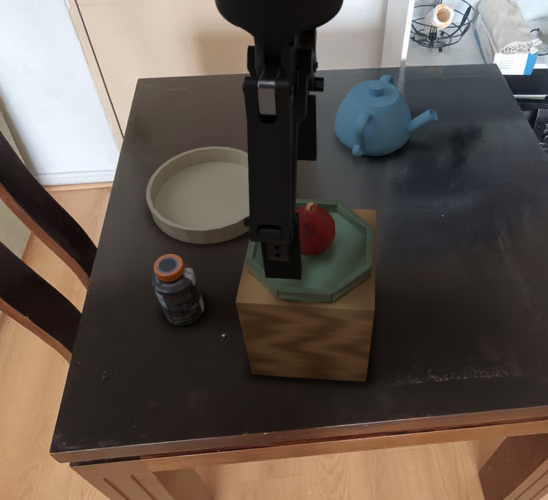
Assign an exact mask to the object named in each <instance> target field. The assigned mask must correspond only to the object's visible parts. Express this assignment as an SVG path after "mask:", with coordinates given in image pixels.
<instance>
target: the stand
mask: <svg viewBox="0 0 548 500" xmlns="http://www.w3.org/2000/svg"><path fill="white" fill-rule="evenodd" d="M310 202H314V203H316V204H317V206H320V207H322V208H324V209H325V210H327V211H328V212H329V214H330V215H331V216H332V217H333V219H334V221H335V231H336V234H335V238H334V240H333V242H332V245H330V246H329V247H328V248H327V249H326V250H325V251H324V252H322V253H320V254H318V255H312V256H306V255H303V254H301V261H302V277H301V280H295V279H277V278H265V271H264V264H263V257H262V250H261V243H260V242H251V240H250V238H249V239H248V244H247V248H246V253H245V258H244V262H243V267H242V272H241V274H240V275H241V277H240V281H239V285H238V290H237V293H236V299H235V306H236V310H237V314H238V318H239V323H240V327H241V331H242V336H243V341H244V344H245V345H244V346H245V349H246V353H247V357H248V358H247V359H248V363H249V367H250V372H251V375H254V376H267V377H268V376H269V377H270V376H271V377H283V378H297V379H298V378H300V379H313V380H330V381H343V382H344V381H345V382H359V383H366V382H367V377H368V369H369V361H370V351H371V344H372V337H373V330H374V329H373V328H374V319H375V312H376V274H377V273H376V272H377V270H376V269H377V267H376V265H377V219H378V218H377V216H378V211H377V209H366V208H365V209H364V208H363V209H362V208H350V207H349V206H347V205H346V204H345V203H344V202H343V201H341V200H337V199H318V198H317V199H316V198H300V197H299V198H298V197H296V208H295V210H297V209H298V208H299V207H302V206H305V205H307V203H310Z"/></svg>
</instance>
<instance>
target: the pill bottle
mask: <svg viewBox="0 0 548 500" xmlns="http://www.w3.org/2000/svg"><path fill="white" fill-rule="evenodd" d="M153 270H154V271H153V273H152V275H151V285H152V287H153V290H154V293H155V295H156V296H157V299H158V301H159V304H160V306H161V308H162V311H163V313H164V316H165V317H166V319H167V321H169V322H170V323H171V324H172V325H176V326H187V325H191V324H193V323H194V322H196V321H197V320H198V319H200V318H201V317H202V316H203V313H204V310H205V303H204V299H203V297H202V293H201V290H200V287H199V284H198V280H197V277H196V275H195V272H194V269H193V267H192V266H191V265H190V264H189V263H188V262H186V261H184V260H183V258H182V257H181V256H180V255H178V254H174V253H167V254H164V255H162V256H160V257H158V258H157V259H156V260H155V262H154V264H153Z"/></svg>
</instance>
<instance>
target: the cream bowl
mask: <svg viewBox="0 0 548 500" xmlns="http://www.w3.org/2000/svg"><path fill="white" fill-rule="evenodd" d="M145 199H146V202H147V206H148V208H149V211H150V213H151V217H152V218H153V221H154V223H155V224H156V226H157V227H158V228H159V229H160V230H161V232H164V234H166V235H167V236H169V237H171V238H172V239H175V240H176V241H177V240H178V241H180V242H184V243H189V244H195V245H209V244H219V243H223V242H226V241H231V240H233V239H236V238H239V237H240V236H242V235H244V234H246V233H247V232H249V228H250V227H245V226H244V218H245V217H247V216H249V183H248V152H247V151H244V150H242V149H238V148H234V147H229V146H214V145H213V146H205V147H198V148H194V149H190V150H187V151H183V152H181V153H179V154H176V155H174V156H173V157H170V158H169V159H168V160H167V161H165V162H163V164H161V165H160V166H159V167H157V169H156V170H155V172H154V173H153V174H152V176H151V177H150V178H149V181H148V183H147V185H146V196H145Z"/></svg>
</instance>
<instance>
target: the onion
mask: <svg viewBox="0 0 548 500" xmlns="http://www.w3.org/2000/svg"><path fill="white" fill-rule="evenodd" d="M295 213H299V225H300V243H301V254H303V255H306V256H312V255H318V254H320V253H322V252H324V251H325V250H326V249H327V248H328V247H329V246H330V245H332V242H333V240H334V238H335V234H336V231H335V221H334V219H333V217H332V216H331V215H330V214H329V212H328V211H327V210H325V209H324V208H322V207H320V206H317V204H316V203H314V202H310V203H307V205H305V206H302V207H299V208H298V209H297V210H295Z"/></svg>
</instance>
